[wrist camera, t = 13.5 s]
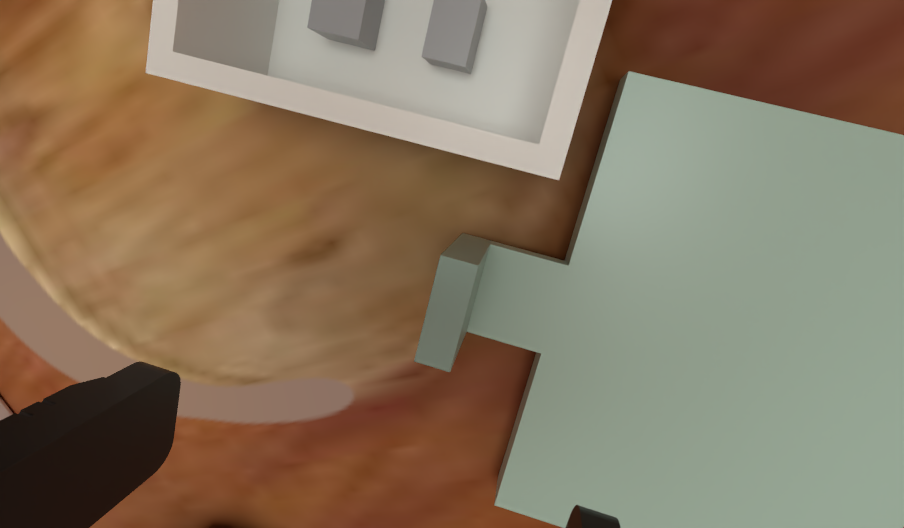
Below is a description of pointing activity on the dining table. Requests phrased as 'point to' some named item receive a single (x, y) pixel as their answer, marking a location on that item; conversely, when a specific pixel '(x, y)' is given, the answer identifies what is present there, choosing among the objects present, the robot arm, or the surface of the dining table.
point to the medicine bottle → (4, 410)
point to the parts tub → (399, 66)
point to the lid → (704, 323)
